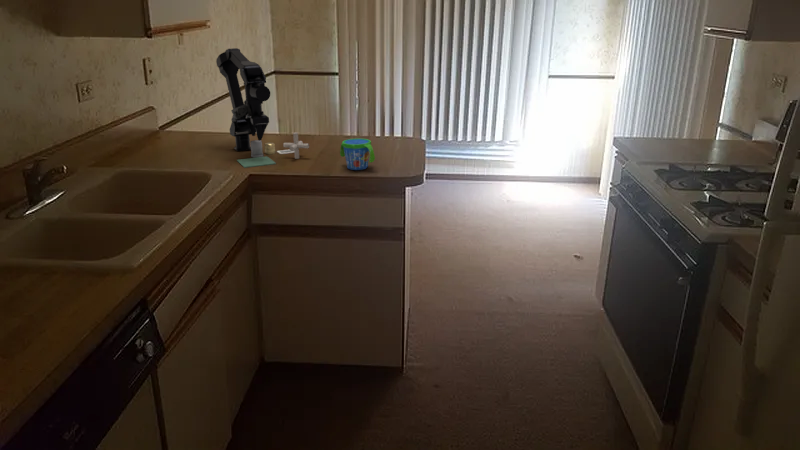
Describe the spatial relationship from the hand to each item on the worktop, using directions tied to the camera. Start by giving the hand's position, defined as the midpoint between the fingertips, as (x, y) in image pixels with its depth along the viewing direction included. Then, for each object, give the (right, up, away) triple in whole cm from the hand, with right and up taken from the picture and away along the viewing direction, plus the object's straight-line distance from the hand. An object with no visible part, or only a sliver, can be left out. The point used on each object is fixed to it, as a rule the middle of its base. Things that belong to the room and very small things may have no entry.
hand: (256, 138), depth 243 cm
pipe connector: (+16, -8, +1) cm, 18 cm away
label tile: (+10, -4, +11) cm, 15 cm away
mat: (+1, -10, -5) cm, 12 cm away
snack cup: (+40, -13, -14) cm, 45 cm away
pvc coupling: (-1, -7, +4) cm, 8 cm away
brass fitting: (+4, -5, +8) cm, 10 cm away
